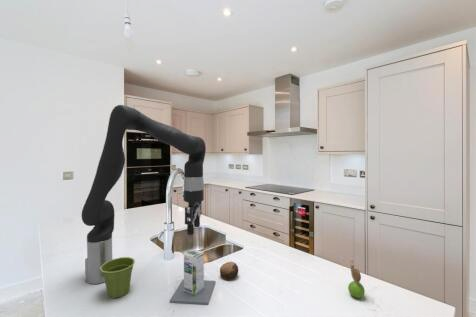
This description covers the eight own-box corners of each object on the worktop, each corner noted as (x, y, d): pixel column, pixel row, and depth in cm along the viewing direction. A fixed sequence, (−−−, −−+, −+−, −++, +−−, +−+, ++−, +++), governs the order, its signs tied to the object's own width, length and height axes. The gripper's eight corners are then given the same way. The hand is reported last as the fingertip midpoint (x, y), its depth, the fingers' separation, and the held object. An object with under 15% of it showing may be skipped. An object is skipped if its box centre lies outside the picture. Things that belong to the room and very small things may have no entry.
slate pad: (169, 302, 82) (169, 300, 82) (182, 281, 96) (182, 279, 96) (208, 305, 81) (208, 302, 81) (215, 282, 95) (215, 280, 95)
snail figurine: (357, 290, 89) (358, 259, 89) (367, 301, 83) (368, 268, 83) (344, 290, 89) (344, 260, 89) (353, 301, 83) (353, 268, 83)
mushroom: (230, 262, 106) (228, 255, 102) (242, 273, 102) (241, 266, 98) (217, 275, 102) (215, 268, 98) (229, 288, 97) (228, 281, 94)
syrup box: (183, 291, 88) (182, 253, 88) (193, 283, 93) (193, 248, 93) (194, 295, 85) (194, 257, 85) (204, 287, 90) (204, 251, 90)
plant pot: (110, 284, 94) (109, 257, 94) (139, 283, 95) (139, 256, 95) (94, 303, 82) (93, 272, 82) (128, 302, 83) (127, 271, 83)
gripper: (189, 185, 95) (189, 224, 96) (177, 191, 81) (177, 236, 81) (207, 186, 95) (207, 225, 95) (198, 191, 80) (198, 237, 81)
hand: (193, 230), depth 88 cm, fingers open, 8 cm apart
